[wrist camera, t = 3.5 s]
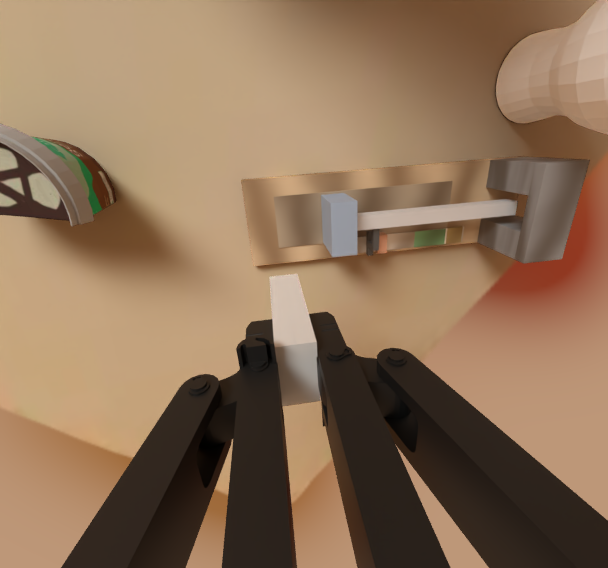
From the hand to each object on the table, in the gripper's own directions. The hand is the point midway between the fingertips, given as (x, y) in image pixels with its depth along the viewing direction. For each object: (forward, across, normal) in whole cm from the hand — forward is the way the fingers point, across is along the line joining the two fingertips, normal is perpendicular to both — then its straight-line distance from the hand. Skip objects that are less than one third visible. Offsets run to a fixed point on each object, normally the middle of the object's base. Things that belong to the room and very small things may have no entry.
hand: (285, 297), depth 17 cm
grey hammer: (+17, +15, -1) cm, 23 cm away
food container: (+19, -19, +8) cm, 28 cm away
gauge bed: (+18, +12, 0) cm, 22 cm away
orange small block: (+17, +11, -3) cm, 21 cm away
